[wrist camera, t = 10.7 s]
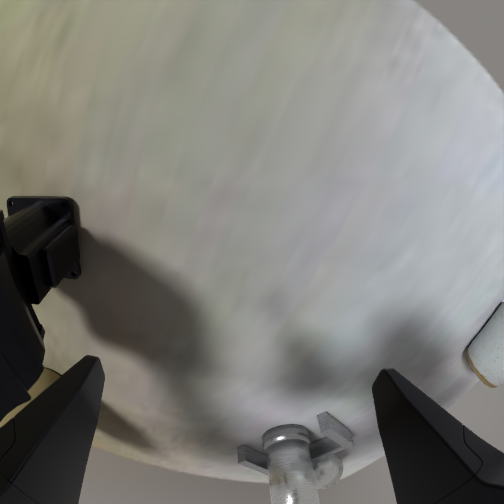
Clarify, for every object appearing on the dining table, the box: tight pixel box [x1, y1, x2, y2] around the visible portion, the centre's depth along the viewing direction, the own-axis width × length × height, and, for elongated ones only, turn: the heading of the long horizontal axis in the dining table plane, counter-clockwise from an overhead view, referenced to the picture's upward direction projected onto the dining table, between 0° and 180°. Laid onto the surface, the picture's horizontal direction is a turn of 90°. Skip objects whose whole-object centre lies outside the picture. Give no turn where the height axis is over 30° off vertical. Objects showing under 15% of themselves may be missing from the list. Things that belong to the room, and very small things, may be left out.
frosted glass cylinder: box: [262, 424, 320, 504], centre depth 27 cm, size 6×6×13 cm
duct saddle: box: [237, 412, 354, 489], centre depth 32 cm, size 12×13×6 cm
